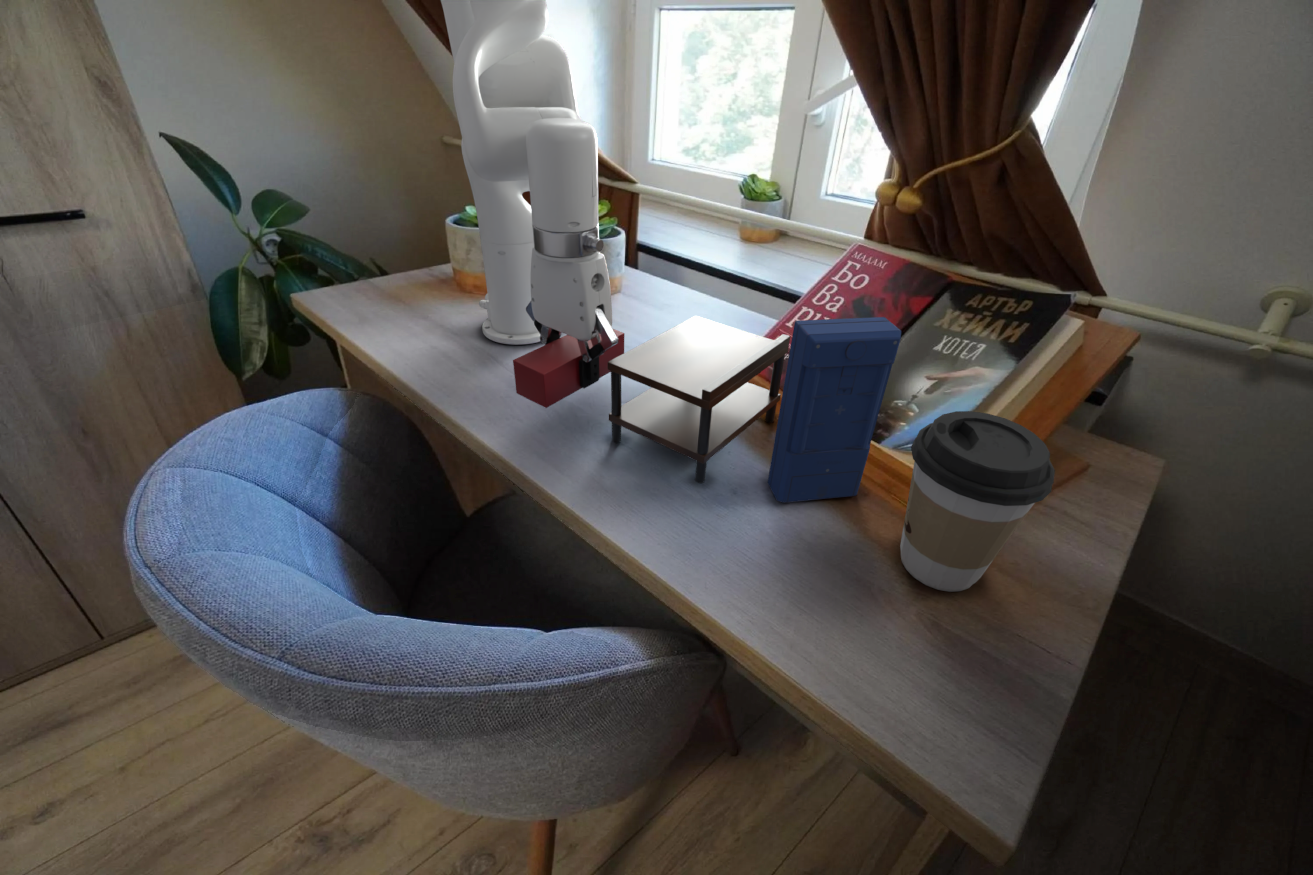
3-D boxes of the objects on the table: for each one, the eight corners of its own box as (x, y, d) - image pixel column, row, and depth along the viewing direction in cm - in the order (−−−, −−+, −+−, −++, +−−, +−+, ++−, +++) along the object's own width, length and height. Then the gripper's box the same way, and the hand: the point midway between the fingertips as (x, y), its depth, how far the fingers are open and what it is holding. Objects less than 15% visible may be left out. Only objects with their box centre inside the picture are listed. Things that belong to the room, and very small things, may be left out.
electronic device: (840, 471, 72) (881, 312, 61) (859, 499, 68) (907, 334, 56) (764, 477, 70) (791, 316, 59) (779, 506, 66) (811, 338, 55)
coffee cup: (883, 513, 66) (921, 393, 57) (997, 544, 62) (1056, 421, 54) (872, 586, 57) (915, 457, 49) (1004, 626, 53) (1075, 496, 45)
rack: (608, 440, 76) (607, 352, 69) (690, 386, 88) (696, 307, 81) (701, 485, 69) (710, 392, 62) (776, 420, 81) (790, 336, 74)
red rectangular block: (516, 393, 77) (512, 360, 74) (595, 352, 87) (594, 321, 84) (546, 408, 74) (543, 374, 72) (624, 364, 84) (624, 333, 82)
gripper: (644, 249, 68) (640, 387, 79) (538, 217, 76) (547, 346, 87) (600, 266, 63) (602, 410, 74) (491, 230, 72) (507, 365, 82)
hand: (572, 374), depth 80 cm, fingers closed on red rectangular block, 5 cm apart
